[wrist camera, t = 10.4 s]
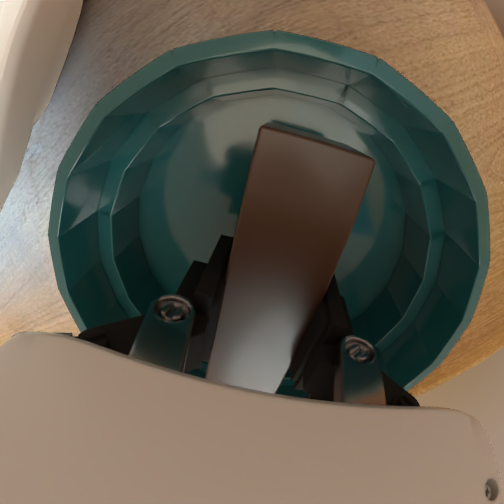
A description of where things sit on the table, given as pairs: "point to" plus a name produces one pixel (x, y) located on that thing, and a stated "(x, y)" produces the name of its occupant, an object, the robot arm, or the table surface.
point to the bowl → (29, 72)
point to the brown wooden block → (284, 251)
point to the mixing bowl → (235, 177)
